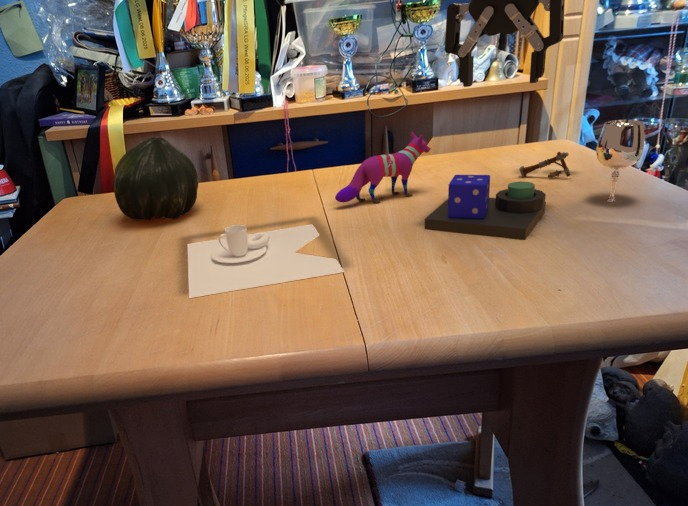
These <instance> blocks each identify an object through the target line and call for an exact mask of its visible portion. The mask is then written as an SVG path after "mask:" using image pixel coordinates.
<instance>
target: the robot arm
mask: <svg viewBox="0 0 688 506" xmlns="http://www.w3.org/2000/svg"><path fill="white" fill-rule="evenodd" d="M540 4H542V6H543V9H544V11H545V12H549V22H548V23H549V25H548V35H547V36H546V37H545V36H544V35H543V34H542V32H541V30H540V29H539V26H538V25H537V24H536V22H535V21H534V19H533V18H532V17H531V16H533V14H534V12H535V11H536V9H537V8H538V7H539V5H540ZM468 13H469V15H470V16H471V18H472V19H473V21H474V22H475V23H474V25H473V26H472V28H471V30H470V31H469V32H468V34H467V35H466V38H465V40H464V41H463V43H460V42H461V40H460V39H461V28H462V27H461V26H462V22H463V21H464V20H465V19H466V16H467V14H468ZM445 19H446V20H445V21H446V23H445V35H444V36H445V38H444V52H445V53H446V54H447V55H449V54H451V55H454V56H457V58H458V61H459V62H458V80H459V82H460V84H461V83H462V86H463V88H470V87H472V86H473V84H474V62H475V61H474V60H475V59H474V58H475V57H474V55H472V54H473V51H474V50H475V49H476V47H477V46H478V44H479V43H480V42H481V41H482V40H483V38H484V37H485V36H487V37H491V36H497V35H499V34H504V35H513V34H516V33H517V32H520V34H521V36H522V37H523V38H524V39H526V41H527V42H528V43H529V45H530V46H531V48H532V49H533V51H531V53H530V68H529V69H530V70H529V84H537V83H538V82H539V81H540V79H541V78H542V77H544V74H545V73H546V58H547V50H548V49H549V48H550V47H552V46H554V45H557V44H558V43H560V42H562V41H563V40H564V33H565V32H564V31H565V0H470V1H469V3H460V2H454V3H450V4H448V5H447V7H446V18H445Z"/></svg>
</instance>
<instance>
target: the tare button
mask: <svg viewBox="0 0 688 506" xmlns="http://www.w3.org/2000/svg"><path fill="white" fill-rule="evenodd" d="M535 187H536V184H535V183H533V182H532V181H531V182H530V181H521V180H520V181H513V182H512V181H511V182H509V183H508V184H507V189H508V191H507V197H510V198H518V199H525V198H531V197H534V189H536V188H535Z"/></svg>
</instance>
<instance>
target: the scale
mask: <svg viewBox="0 0 688 506" xmlns="http://www.w3.org/2000/svg"><path fill="white" fill-rule="evenodd" d="M507 191H508V188H506V189H505V188H504V189H502V190H499V191H497V193H496V194H495V197H489V206H488V210H487V212H486V215H485V217H484V219H469V218H449V217H448V198H447V199H446V200H444V202H442V203H441V204H440V205H439V206H438V207H437V208H435V209H434V210H433V211H432V212H430V214H429V215H427V216H426V217H425V218H424V230H427V231H436V232H445V233H455V234H463V235H472V236H473V235H474V236H483V237H491V238H492V237H493V238H500V239H501V238H502V239H511V240H519V241H526V240H527V238H528V237H529V236H530V234H531V232H532V231H533V229H534V228H535V227H536V225H537V224H538V223H539V221H540V220H541V218H543V215H545V212H546V205H547V204H546V203H547V202H546V198H547V197H546V193H545V192H544V191H543V190H540V189H536V188H535V189H534V197H531V198H525V199H518V198H510V197H507Z"/></svg>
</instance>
